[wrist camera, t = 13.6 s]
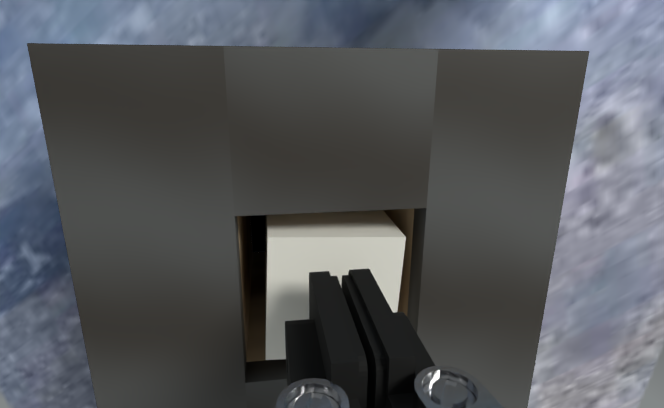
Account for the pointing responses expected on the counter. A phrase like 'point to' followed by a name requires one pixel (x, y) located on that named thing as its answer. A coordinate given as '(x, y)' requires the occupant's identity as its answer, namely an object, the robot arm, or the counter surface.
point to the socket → (301, 199)
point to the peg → (324, 261)
